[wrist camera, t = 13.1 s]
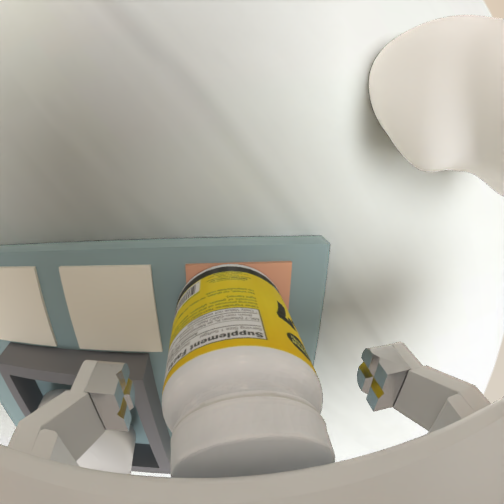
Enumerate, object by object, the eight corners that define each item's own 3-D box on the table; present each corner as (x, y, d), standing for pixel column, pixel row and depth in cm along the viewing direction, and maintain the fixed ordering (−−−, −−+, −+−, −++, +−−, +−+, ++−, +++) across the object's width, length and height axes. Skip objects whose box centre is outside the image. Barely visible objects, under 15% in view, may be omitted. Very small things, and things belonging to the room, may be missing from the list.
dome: (69, 428, 16) (53, 476, 12) (36, 365, 14) (7, 416, 10) (148, 438, 16) (142, 492, 12) (126, 374, 14) (110, 437, 10)
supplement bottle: (287, 341, 15) (344, 491, 7) (192, 359, 14) (190, 518, 6) (274, 249, 13) (358, 400, 5) (163, 271, 13) (117, 440, 5)
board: (23, 420, 17) (11, 447, 14) (-49, 248, 12) (-79, 267, 9) (293, 434, 20) (303, 468, 17) (321, 235, 14) (348, 260, 11)
